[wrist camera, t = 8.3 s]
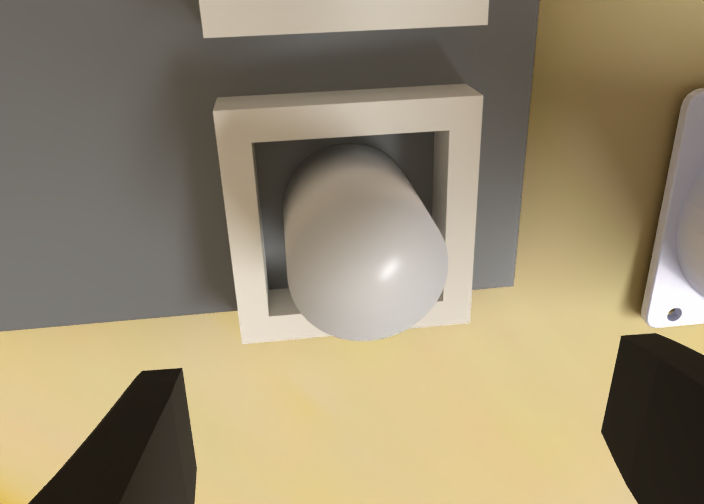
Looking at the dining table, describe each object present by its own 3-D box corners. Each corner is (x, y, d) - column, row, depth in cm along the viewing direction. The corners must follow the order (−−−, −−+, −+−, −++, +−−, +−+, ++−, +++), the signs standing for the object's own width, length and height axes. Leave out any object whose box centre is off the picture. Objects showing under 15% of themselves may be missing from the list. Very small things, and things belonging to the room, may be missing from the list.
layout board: (548, -337, 14) (690, -480, 9) (499, 274, 21) (568, 368, 16) (-237, -346, 12) (-538, -521, 8) (-18, 318, 19) (-110, 437, 14)
